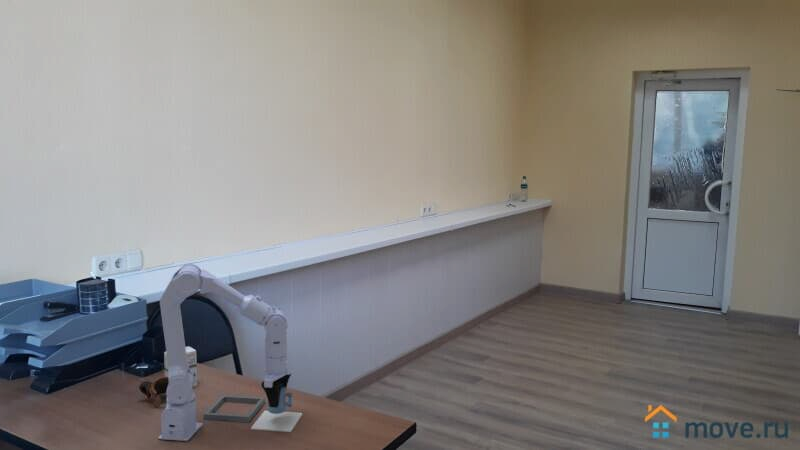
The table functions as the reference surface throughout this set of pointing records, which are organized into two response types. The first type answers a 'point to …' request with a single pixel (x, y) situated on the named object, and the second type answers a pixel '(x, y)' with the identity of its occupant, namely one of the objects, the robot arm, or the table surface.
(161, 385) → the brown animal figurine
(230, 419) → the grey square frame
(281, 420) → the mat
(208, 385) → the table surface
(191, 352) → the ink box
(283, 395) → the blue-grey mug
